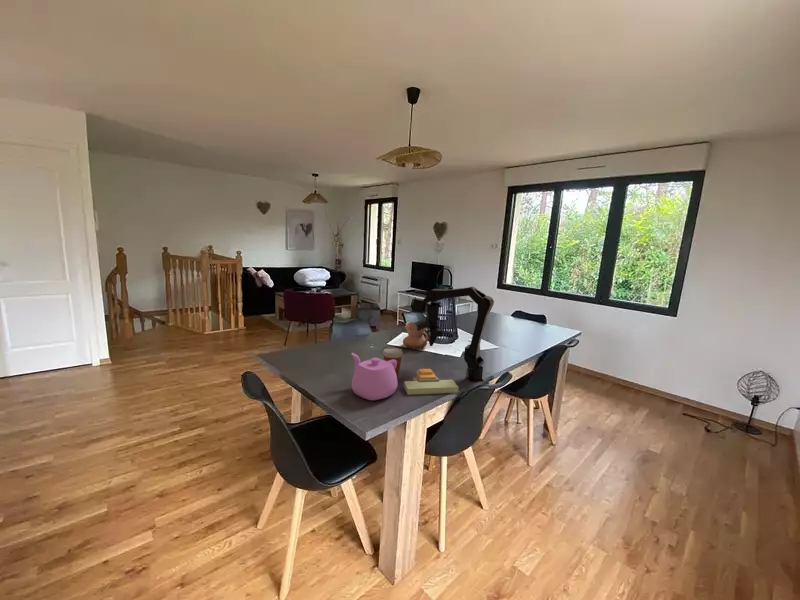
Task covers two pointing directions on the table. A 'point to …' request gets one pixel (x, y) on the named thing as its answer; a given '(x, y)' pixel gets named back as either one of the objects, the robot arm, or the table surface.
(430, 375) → the orange block with panel
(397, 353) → the disposable coffee cup
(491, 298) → the robot arm
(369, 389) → the teapot
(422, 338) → the ceramic jug
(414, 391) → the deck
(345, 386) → the table surface
